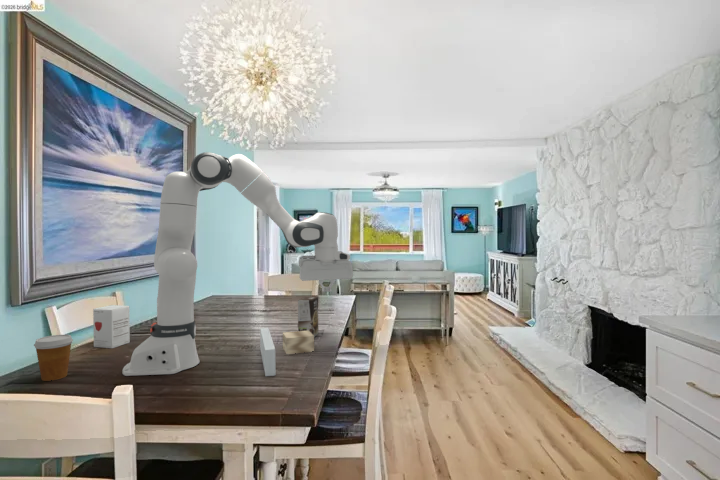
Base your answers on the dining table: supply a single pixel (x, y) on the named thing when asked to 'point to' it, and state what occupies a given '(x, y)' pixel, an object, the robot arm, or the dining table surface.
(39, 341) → the disposable coffee cup
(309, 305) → the coffee box
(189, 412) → the dining table surface
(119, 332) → the supplement box
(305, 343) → the maple block
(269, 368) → the board
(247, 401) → the dining table surface
